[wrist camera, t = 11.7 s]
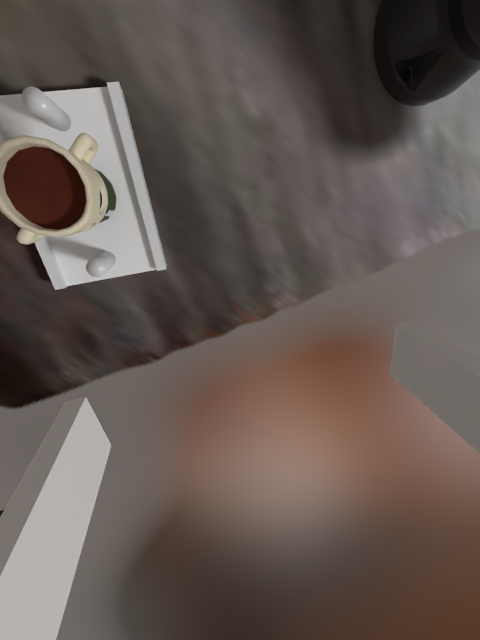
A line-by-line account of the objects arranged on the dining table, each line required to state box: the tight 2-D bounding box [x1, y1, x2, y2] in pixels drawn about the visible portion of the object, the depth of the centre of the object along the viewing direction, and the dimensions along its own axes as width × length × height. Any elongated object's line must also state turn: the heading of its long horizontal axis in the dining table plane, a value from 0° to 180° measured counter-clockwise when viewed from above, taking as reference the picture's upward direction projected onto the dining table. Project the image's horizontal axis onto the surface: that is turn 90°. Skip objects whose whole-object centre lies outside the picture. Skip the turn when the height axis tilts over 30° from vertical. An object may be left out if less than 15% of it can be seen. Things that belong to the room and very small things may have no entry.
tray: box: [0, 82, 167, 290], centre depth 30 cm, size 14×20×8 cm
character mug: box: [0, 133, 116, 245], centre depth 27 cm, size 11×7×13 cm, turn 140°
